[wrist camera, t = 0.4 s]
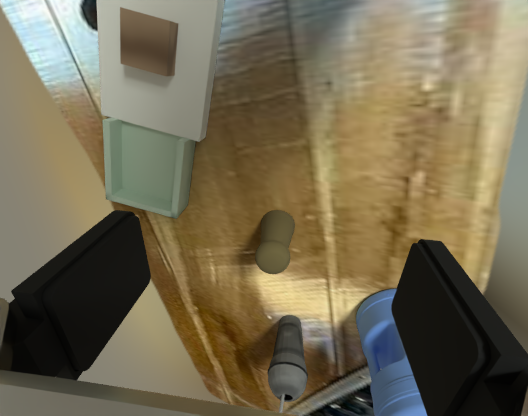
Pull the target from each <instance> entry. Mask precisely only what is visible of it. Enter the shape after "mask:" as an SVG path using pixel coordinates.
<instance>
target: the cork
mask: <svg viewBox="0 0 528 416" xmlns="http://www.w3.org/2000/svg"><path fill="white" fill-rule="evenodd" d="M294 228H295V223H294V220H293V218H292V216H291V215H289V214H288V213H287V212H284V211H281V210H273V211H270V212H268V213H267V214H265V215H264V217H263V218H262V221H261V244H260V245H259V247H258V249H257V250H256V255H255V260H256V263H257V265H258V267H259V268H260V269H261V270H262V271H264V272H266V273H268V274H278V273H281V272H282V271H284V270H285V269H286V268H287V266H288V265H289V263H290V252H289V249H288V248H289V245H290V241H291V238H292V235H293V232H294Z"/></svg>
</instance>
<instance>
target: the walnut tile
mask: <svg viewBox="0 0 528 416" xmlns="http://www.w3.org/2000/svg"><path fill="white" fill-rule="evenodd" d="M177 36H178V23H175V22H172V21H168V20H165V19H161V18H158V17H154V16H150V15H147V14H143V13H140V12H136V11H132V10H129V9H125V8H122V7H120V62H121V64H123V65H127V66H130V67H134V68H138V69H141V70H145V71H148V72H152V73H156V74H159V75H163V76H175V63H176V50H177Z"/></svg>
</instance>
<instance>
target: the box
mask: <svg viewBox="0 0 528 416" xmlns="http://www.w3.org/2000/svg"><path fill="white" fill-rule="evenodd" d="M103 139H104V163H105V187H106V199H107V200H111V201H114V202H118V203H122V204H125V205H129V206H132V207H136V208H140V209H143V210H147V211H150V212H154V213H158V214H161V215H165V216H168V217H172V218H176V219H177V218H178V217H179V215H180V214H181V213H182V212H183V210H184V209H185V208H186V207H187V205H188V200H189V192H190V184H191V176H192V168H193V159H194V151H195V143H196V141H194V140H191V139H187V138H183V137H180V136H176V135H173V134H169V133H165V132H162V131H158V130H155V129H151V128H147V127H144V126H140V125H137V124H133V123H129V122H126V121H122V120H119V119H115V118H108V119H104V120H103Z"/></svg>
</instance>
